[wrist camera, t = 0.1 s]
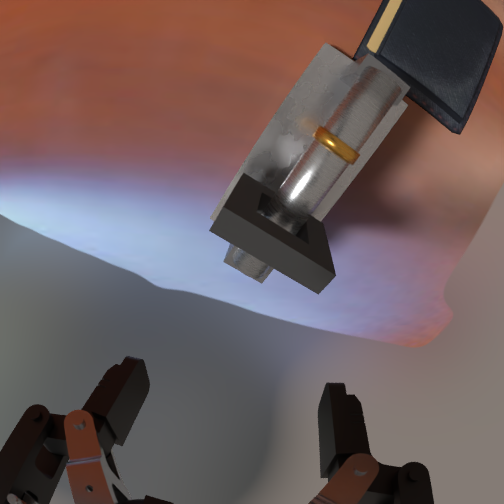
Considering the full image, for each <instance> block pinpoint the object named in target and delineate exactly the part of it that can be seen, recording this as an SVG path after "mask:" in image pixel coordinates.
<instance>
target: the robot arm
mask: <svg viewBox="0 0 504 504" xmlns="http://www.w3.org/2000/svg"><path fill="white" fill-rule="evenodd" d="M149 387H150V382H149V378H148V374H147V370H146V366H145V363H144V360H143V359H139V358H134V357H130V356H127V357H125V359H124V360H123V362H122V363H121V365H118V364H115V365H114V366H113V367H111V368H110V369H109V370H107V372H106V373H105V375H104V376H103V378H102V380H101V381H100V382H99V384H98V386H97V387H96V388H95V390H94V391H93V393H92V394H91V396H90V397H89V399H88V400H87V402H86V403H85V405H84V406H83V408H82V409H81V410H74V411H72V412H70V413H69V414H68V415H58V414H51V413H49V411H48V409H47V408H46V407H45V406H43V405H39V404H37V405H32V406H31V407H29V408H28V409H27V410H26V411H25V413H24V414H23V416H22V418H21V419H20V421H19V422H18V424H17V425H16V427H15V428H14V430H13V432H12V433H11V435H10V437H9V438H8V440H7V441H6V443H5V445H4V446H3V448H2V450H1V451H0V504H49V503H50V500H51V498H52V496H53V493H54V491H55V489H56V487H57V484H58V482H59V480H60V477H61V475H62V473H63V471H64V469H65V467H66V468H67V474H68V478H69V483H70V487H71V491H72V495H73V499H74V502H75V504H173V503H171V502H168V501H164V500H160V499H157V498H154V497H150V496H147V495H146V496H145V499H136V500H132V498H131V496H130V494H129V492H128V490H127V488H126V487H125V485H124V483H123V480H122V478H121V475H120V472H119V469H118V466H117V463H116V460H115V457H114V454H113V451H112V447H113V445H114V443H115V444H117V445H120V446H123V444H124V442H125V440H126V438H127V436H128V434H129V431H130V429H131V427H132V425H133V423H134V421H135V419H136V417H137V415H138V413H139V411H140V409H141V407H142V405H143V403H144V401H145V398H146V397H147V394H148V392H149ZM318 428H319V447H320V469H321V470H320V472H321V478H328V483H327V484H326V486H325V487H324V488H323V489H322V490H321V491H320V492H319V494H318V495H317V496H316V497H314V499H313V500H311V501H310V502H309V504H434V500H433V494H432V487H431V482H430V476H429V472H428V469H427V468H426V467H425V466H424V465H423V464H421V463H418V462H410V463H407V464H405V465H404V466H402V467H395V466H389V465H384V464H381V463H379V462H377V461H376V459H375V458H374V457H373V456H372V455H371V453H370V448H369V442H368V437H367V432H366V426H365V423H364V416H363V411H362V406H361V403H360V401H359V400H358V399H357V397H356V396H355V395H347V394H346V388H345V384H344V383H326V385H325V388H324V391H323V394H322V397H321V400H320V403H319V408H318ZM69 459H70V462H68V460H69Z"/></svg>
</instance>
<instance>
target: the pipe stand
mask: <svg viewBox="0 0 504 504" xmlns="http://www.w3.org/2000/svg"><path fill="white" fill-rule="evenodd" d="M409 89H410V87H409V86H408V85H407V84H406V83H405V82H404V81H403V80H401V79H400V78H399V77H398V76H397V75H396V74H394V73H393V72H392V71H391V70H390V69H388V68H387V67H386V66H385V65H383V64H382V63H381V62H380V61H378V60H377V59H376V58H374V57H373V56H372V55H370V54H369V53H368V54H366V55H365V56H363V57H361V58H359V59H357V60H356V61H353V60H351V59H350V58H348V57H347V56H345V55H344V54H343V53H341V52H340V51H338V50H337V49H335V48H333V47H332V46H330V45H329V44H327V43H325V44H324V45H323V47H322V48H321V49H320V51H319V52H318V53H317V55H316V56H315V57H314V59H313V60H312V62H311V63H310V64H309V66H308V67H307V69H306V70H305V71H304V73H303V74H302V76H301V77H300V78H299V80H298V81H297V83H296V84H295V86H294V87H293V88H292V90H291V91H290V93H289V94H288V96H287V97H286V99H285V100H284V102H283V103H282V104H281V106H280V107H279V109H278V110H277V112H276V113H275V115H274V116H273V118H272V119H271V121H270V122H269V124H268V125H267V127H266V129H265V130H264V132H263V133H262V135H261V136H260V138H259V139H258V141H257V142H256V144H255V145H254V147H253V149H252V150H251V152H250V153H249V155H248V156H247V158H246V160H245V161H244V163H243V164H242V166H241V168H240V169H239V171H238V172H237V174H236V176H235V177H234V179H233V181H232V182H231V184H230V185H229V187H228V189H227V190H226V192H225V194H224V195H223V197H222V199H221V200H220V202H219V204H218V205H217V207H216V209H215V210H214V212H213V214H212V216H211V217H210V219H212V220H213V221H215V220H216V218H217V216H218V214H219V213H220V211H221V209H222V207H223V206H224V204H225V202H226V200H227V199H228V197H229V195H230V194H231V192H232V190H233V189H234V187H235V185H236V184H237V182H238V181H239V179H240V177H241V176H242V174H243V173H245V174H247V175H248V176H250V177H252V178H253V179H255V180H257V181H258V182H260V183H261V184H263V185H265V186H266V187H268V188H269V189H271V190H273V191H274V192H276V193H275V195H274V196H273V198H272V199H271V201H270V202H269V204H268V205H267V206H266V208H265V209H264V211H263V212H262V214H261V215H262V216H264V217H266V218H267V219H269V220H271V221H272V222H274V223H275V224H277V225H279V226H280V227H282V228H283V229H285V230H287V231H288V232H290V233H291V234H293V235H296V234H297V232H298V231H299V230H300V229H301V227H302V226H303V225H304V223H305V222H306V221H307V220H308V218H309V217H310V216H313V217H314V218H316V219H317V220H319V221H320V222H321V221H322V220H323V218H324V217H325V216H326V215H327V213H328V212H329V211H330V209H331V208H332V207H333V206H334V204H335V203H336V202H337V200H338V199H339V198H340V197H341V195H342V194H343V193H344V191H345V190H346V189H347V187H348V186H349V185H350V184H351V182H352V181H353V180H354V178H355V177H356V176H357V174H358V173H359V172H360V170H361V169H362V168H363V166H364V165H365V164H366V162H367V161H368V160H369V158H370V157H371V156H372V154H373V153H374V152H375V150H376V149H377V148H378V146H379V145H380V144H381V142H382V141H383V140H384V138H385V137H386V135H387V134H388V133H389V131H390V130H391V129H392V127H393V126H394V124H395V123H396V122H397V120H398V119H399V117H400V116H401V115H402V113H403V112H404V110H405V109H406V108H407V106H408V105H407V104H406V103H405V102H404V101H403V100H402V99H403V97H404V96H405V95H406V93H407V92H408V90H409ZM223 262H225V263H227V264H228V265H230V266H232V267H234V268H235V269H237V270H239V271H241V272H242V273H243V274H245V275H247V276H249V277H251V278H253V279H255V280H256V281H258V282H260V283H263V281H264V280H265V279H266V278H267V277H268V275H269V274H270V273H271V272H272V270H273V269H274V268H272V267H270V266H269V265H267V264H265V263H264V262H262V261H260V260H259V259H257V258H255V257H253V256H252V255H250V254H248V253H247V252H245V251H243V250H241V249H240V248H238V247H236V246H235V245H233V244H231V243H230V245H229V248H228V251H227V253H226V256H225V259H224V261H223Z"/></svg>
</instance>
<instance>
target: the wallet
mask: <svg viewBox="0 0 504 504" xmlns="http://www.w3.org/2000/svg"><path fill="white" fill-rule="evenodd" d="M502 30H503V25H502V23H501V21H500V20H499V18H498V17H497V16H496V15H495V14H494V13H493V11H492V10H491V9H490V8H489V7H487V6H486V5H485V4H484V3H483V2H482V1H481V0H383V1H382V3H381V5H380V7H379V9H378V11H377V13H376V15H375V17H374V18H373V20H372V22H371V24H370V26H369V28H368V30H367V32H366V34H365V36H364V38H363V40H362V42H361V43H360V45H359V47H358V49H357V51H356V53H355V55H354V57H353V60H355V61H356V60H357V59H359V58H361V57H363V56H365V55H366V54H368V53H369V54H370V55H372V56H373V57H374V58H376V59H377V60H378V61H380V62H381V63H382V64H383V65H385V66H386V67H387V68H388V69H390V70H391V71H392V72H393V73H394V74H396V75H397V76H398V77H399V78H400V79H401V80H403V81H404V82H405V83H406V84H407V85H408V86H409V87H410V89H409V90H408V92H407V93H406V96H407V97H409V98H410V99H411V100H413V101H414V102H415V103H417V104H418V105H419V106H421V107H422V108H423V109H424V110H426V111H427V112H428V113H429V114H431V115H432V116H433V117H434V118H435V119H437V120H438V121H439V122H440V123H441V124H442V125H444V126H445V127H446V128H447V129H449V130H450V131H451V132H452V133H456V134H461V132H462V130H463V128H464V126H465V124H466V123H467V121H468V118H469V116H470V114H471V112H472V110H473V108H474V105H475V103H476V101H477V98H478V96H479V93H480V91H481V88H482V86H483V83H484V81H485V78H486V75H487V73H488V70H489V68H490V65H491V63H492V60H493V57H494V55H495V52H496V49H497V46H498V44H499V41H500V38H501V35H502Z"/></svg>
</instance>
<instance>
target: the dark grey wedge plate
mask: <svg viewBox="0 0 504 504" xmlns="http://www.w3.org/2000/svg"><path fill="white" fill-rule="evenodd" d="M275 193H276V192H274V191H273V190H271V189H269V188H268V187H266V186H265V185H263V184H261V183H260V182H258V181H257V180H255V179H253V178H252V177H250V176H248V175H247V174H245V173H243V174H242V176H241V177H240V179H239V181H238V182H237V184H236V185H235V187H234V189H233V190H232V192H231V194H230V195H229V197H228V199H227V200H226V202H225V204H224V206H223V207H222V209H221V211H220V213H219V214H218V216H217V218H216V220H215V221H214V223H213V225H212V227H211V228H210V230H209V231H211V232H212V233H214V234H216V235H217V236H219V237H221V238H223V239H224V240H226V241H228V242H229V243H231V244H233V245H235V246H236V247H238V248H240V249H241V250H243V251H245V252H247V253H248V254H250V255H252V256H253V257H255V258H257V259H259V260H260V261H262V262H264V263H265V264H267V265H269V266H270V267H272V268H274V269H276V270H277V271H279V272H281V273H282V274H284V275H286V276H288V277H289V278H291V279H293V280H294V281H296V282H298V283H300V284H301V285H303V286H305V287H307V288H308V289H310V290H312V291H313V292H315V293H317V294H319V293H320V292H321V291H322V290H323V289H324V288H325V287H326V286H327V285H328V284H329V283H330V282H331V281H332V279H333V278H334V277H335V276H336V274H335V269H334V265H333V261H332V256H331V252H330V248H329V244H328V240H327V236H326V232H325V229H324V225H323V223H322V222H320V221H319V220H317V219H316V218H314V217H313V216H310V217H309V218H308V220H307V221H306V222H305V223H304V225H303V226H302V227H301V229H300V230H299V231H298V232H297V234H296V235H293V234H291V233H290V232H288V231H287V230H285V229H283V228H282V227H280V226H279V225H277V224H275V223H274V222H272V221H271V220H269V219H267V218H266V217H264V216H262V215H261V214H262V212H263V211H264V209H265V208H266V206H267V205H268V204H269V202H270V201H271V199H272V198H273V196H274V195H275Z"/></svg>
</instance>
